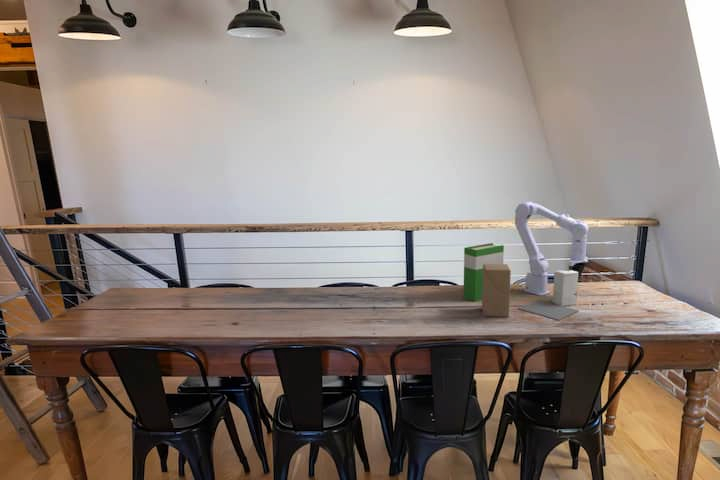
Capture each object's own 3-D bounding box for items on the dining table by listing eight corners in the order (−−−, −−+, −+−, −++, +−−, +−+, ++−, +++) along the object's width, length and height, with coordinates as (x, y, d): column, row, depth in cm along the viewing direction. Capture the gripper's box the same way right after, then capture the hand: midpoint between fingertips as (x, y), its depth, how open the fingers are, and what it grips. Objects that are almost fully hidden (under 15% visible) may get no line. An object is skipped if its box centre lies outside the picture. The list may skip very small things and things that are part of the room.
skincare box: (561, 306, 188) (563, 273, 185) (551, 302, 193) (553, 270, 191) (577, 304, 190) (579, 271, 187) (566, 300, 196) (568, 268, 193)
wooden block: (509, 317, 177) (510, 270, 174) (483, 316, 179) (485, 269, 176) (505, 308, 187) (507, 264, 183) (481, 308, 189) (483, 263, 185)
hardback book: (490, 290, 212) (491, 243, 208) (502, 294, 206) (503, 245, 202) (463, 297, 204) (464, 247, 199) (474, 301, 197) (476, 250, 193)
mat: (518, 309, 187) (518, 308, 186) (539, 300, 196) (539, 300, 196) (558, 320, 172) (558, 319, 172) (578, 311, 182) (579, 310, 182)
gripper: (579, 253, 186) (577, 283, 188) (595, 248, 194) (593, 277, 197) (563, 250, 191) (561, 280, 194) (580, 246, 200) (578, 274, 202)
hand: (576, 278), depth 196 cm, fingers closed
